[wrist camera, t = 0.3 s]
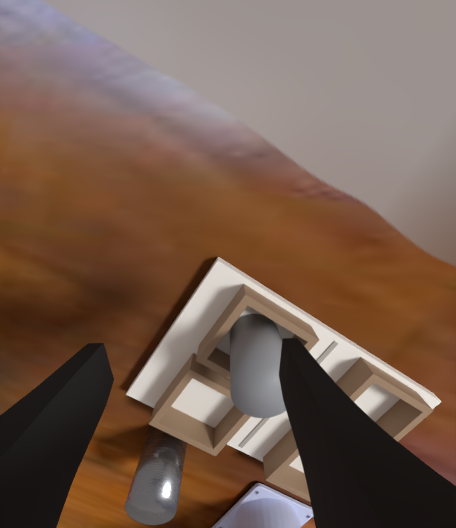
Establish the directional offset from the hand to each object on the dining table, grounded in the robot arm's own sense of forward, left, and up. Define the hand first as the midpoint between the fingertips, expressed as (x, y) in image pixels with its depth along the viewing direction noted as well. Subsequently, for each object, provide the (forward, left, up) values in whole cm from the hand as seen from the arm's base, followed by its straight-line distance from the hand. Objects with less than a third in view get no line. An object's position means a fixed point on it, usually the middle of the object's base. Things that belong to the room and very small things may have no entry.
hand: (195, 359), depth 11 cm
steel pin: (-17, -6, -11) cm, 21 cm away
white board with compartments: (-6, -12, -11) cm, 17 cm away
